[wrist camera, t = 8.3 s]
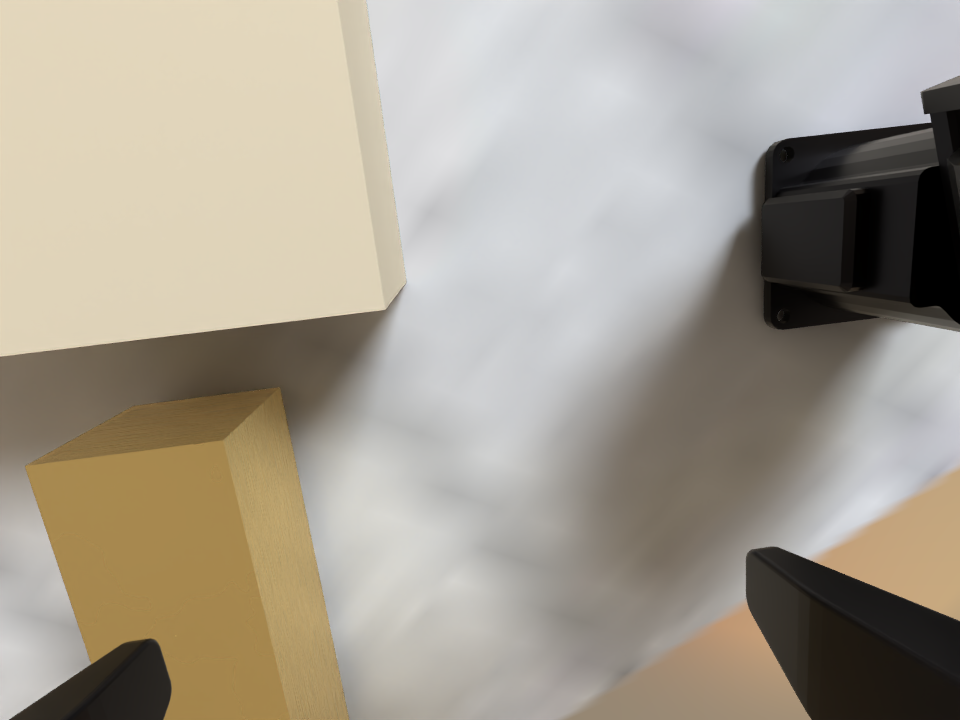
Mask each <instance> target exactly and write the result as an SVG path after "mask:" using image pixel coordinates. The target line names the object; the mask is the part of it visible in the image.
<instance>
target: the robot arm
mask: <svg viewBox="0 0 960 720" xmlns="http://www.w3.org/2000/svg"><path fill="white" fill-rule="evenodd" d="M921 98H922V104H923V109H924V114H930V117H931V122H932V123H924V124H915V125H906V126H897V127H888V128H879V129H870V130H861V131H852V132H843V133H834V134H825V135H816V136H807V137H798V138H789V139H785V140H781V141H778V142H775V143H774V144H772V145H771V146H770V147H769V149H768V151H767V154H766V176H765V203H764V205H763V206H762V262H761V274H762V276H763V277H764V319H765V322H766V323H767V325H769V326H770V327H772V328H776V329H782V330H784V329H792V328H800V327H808V326H816V325H824V324H832V323H840V322H847V321H855V320H863V319H871V318H879V317H883V318H888V319H893V320H899V321H904V322H909V323H915V324H920V325H926V326H931V327H936V328H942V329H947V330H952V331H958V332H960V76H957V77H955V78H952V79H950V80H948V81H945V82H943V83H940V84H938V85H935V86H933V87H931V88H928V89H926V90H924V91H921ZM782 149H784V150H785V151H786V153H787V158H786V160H785V161H784V162H783V161H782V160H781V159H780V152H781V150H782ZM780 310H783V311H784V315H783V318H782V319H781V320H779V321H778V319H777V315H778V313H779V311H780ZM746 598H747V603H748V607H749V609H750V611H751V613H752V616H753V617H754V619H755V621H756V623H757V624H758V626H759V628H760V630H761V632H762V634H763V635H764V637H765V639H766V641H767V643H768V644H769V646H770V648H771V650H772V651H773V653H774V655H775V657H776V659H777V661H778V662H779V664H780V666H781V667H782V670H783V671H784V673H785V675H786V677H787V679H788V680H789V682H790V684H791V686H792V687H793V689H794V691H795V693H796V695H797V696H798V698H799V700H800V702H801V703H802V705H803V707H804V708H805V710H806V712H807V713H808V715H809V716H810V718H811V719H812V720H960V621H958V620H956V619H953V618H951V617H949V616H946V615H944V614H941V613H939V612H936V611H934V610H931V609H929V608H926V607H924V606H921V605H919V604H916V603H914V602H912V601H909V600H907V599H904V598H902V597H899V596H897V595H894V594H892V593H889V592H887V591H884V590H882V589H879V588H877V587H875V586H872V585H870V584H867V583H865V582H862V581H860V580H857V579H855V578H852V577H850V576H847V575H845V574H842V573H840V572H838V571H835V570H832V569H830V568H827V567H825V566H823V565H820V564H818V563H815V562H813V561H810V560H808V559H805V558H803V557H801V556H798V555H796V554H793V553H791V552H788V551H786V550H783V549H781V548H778V547H765V548H758V549H752V550H750V551H749V552H748V553H747V556H746ZM171 693H172V686H171V680H170V677H169V673H168V670H167V667H166V664H165V660H164V657H163V654H162V651H161V648H160V645H159V643H158V642H157V641H156V640H155V639H152V638H148V639H141V640H134V641H128V642H125V643H123V644H121V645H119V646H118V647H116V648H115V649H113V650H112V651H110V652H109V653H107V654H106V655H104V656H103V657H102V658H100V659H99V660H97V661H96V662H94V663H93V664H91V665H90V666H88V667H87V668H85V669H84V670H82V671H81V672H79V673H78V674H76V675H75V676H73V677H72V678H70V679H69V680H67V681H66V682H64V683H63V684H61V685H60V686H58V687H57V688H55V689H54V690H52V691H51V692H50V693H48V694H47V695H45V696H44V697H42V698H41V699H39V700H38V701H36V702H35V703H33V704H32V705H30V706H29V707H27V708H26V709H24V710H23V711H21V712H20V713H18V714H17V715H15V716H14V717H12V718H11V719H9V720H164V717H165V714H166V711H167V708H168V706H169V703H170V699H171Z"/></svg>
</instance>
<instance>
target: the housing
mask: <svg viewBox="0 0 960 720" xmlns="http://www.w3.org/2000/svg"><path fill="white" fill-rule="evenodd" d="M405 283H406V275H405V268H404V261H403V254H402V247H401V240H400V233H399V226H398V219H397V212H396V205H395V198H394V191H393V185H392V178H391V171H390V164H389V157H388V150H387V143H386V136H385V129H384V122H383V115H382V108H381V101H380V94H379V87H378V80H377V73H376V67H375V60H374V53H373V46H372V39H371V32H370V25H369V18H368V11H367V4H366V0H0V357H1V356H9V355H18V354H26V353H34V352H42V351H51V350H59V349H67V348H75V347H83V346H92V345H100V344H108V343H116V342H125V341H133V340H141V339H149V338H158V337H166V336H174V335H182V334H191V333H199V332H207V331H215V330H224V329H232V328H240V327H248V326H256V325H265V324H273V323H281V322H289V321H298V320H306V319H314V318H322V317H331V316H339V315H347V314H355V313H364V312H372V311H380V310H386V308H387V307H388V306H389V304H390V303H391V302H392V300H393V299H394V298H395V296H396V295H397V294H398V293H399V291H400V290H401V289H402V287H403V286H404V285H405Z"/></svg>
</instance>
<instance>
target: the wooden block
mask: <svg viewBox="0 0 960 720" xmlns="http://www.w3.org/2000/svg"><path fill="white" fill-rule="evenodd" d="M25 468H26V471H27V474H28V477H29V480H30V483H31V486H32V489H33V492H34V495H35V498H36V501H37V504H38V507H39V510H40V513H41V516H42V519H43V522H44V525H45V528H46V531H47V534H48V537H49V540H50V543H51V545H52V548H53V551H54V554H55V557H56V560H57V563H58V566H59V569H60V572H61V575H62V578H63V581H64V584H65V587H66V590H67V593H68V596H69V599H70V602H71V605H72V608H73V611H74V614H75V617H76V620H77V623H78V626H79V629H80V632H81V635H82V638H83V641H84V644H85V647H86V650H87V652H88V655H89V658H90V661H91V664H93V663H94V662H96V661H97V660H99V659H100V658H102V657H103V656H104V655H106V654H107V653H109V652H110V651H112V650H113V649H115V648H116V647H118V646H119V645H121V644H123V643H125V642H128V641H134V640H141V639H148V638H152V639H155V640H156V641H157V642H158V643H159V645H160V648H161V651H162V654H163V657H164V660H165V664H166V667H167V670H168V673H169V677H170V680H171V686H172V693H171V699H170V703H169V706H168V708H167V711H166V714H165V717H164V720H349V716H348V712H347V707H346V702H345V697H344V692H343V688H342V683H341V678H340V673H339V668H338V664H337V659H336V654H335V649H334V644H333V640H332V635H331V630H330V625H329V620H328V616H327V611H326V606H325V601H324V596H323V592H322V587H321V582H320V577H319V572H318V568H317V563H316V558H315V553H314V548H313V544H312V539H311V534H310V529H309V524H308V520H307V515H306V510H305V505H304V500H303V496H302V491H301V486H300V481H299V476H298V472H297V467H296V462H295V457H294V453H293V448H292V443H291V438H290V433H289V429H288V424H287V419H286V414H285V409H284V405H283V400H282V395H281V390H280V387H277V388H270V389H262V390H254V391H246V392H238V393H230V394H222V395H214V396H206V397H198V398H190V399H182V400H175V401H167V402H159V403H151V404H143V405H135V406H133V407H131V408H129V409H127V410H125V411H124V412H122V413H120V414H118V415H116V416H114V417H113V418H111V419H109V420H107V421H105V422H104V423H102V424H100V425H98V426H96V427H95V428H93V429H91V430H89V431H87V432H86V433H84V434H82V435H80V436H78V437H77V438H75V439H73V440H71V441H69V442H67V443H66V444H64V445H62V446H60V447H58V448H57V449H55V450H53V451H51V452H49V453H48V454H46V455H44V456H42V457H40V458H39V459H37V460H35V461H33V462H31V463H30V464H28V465H26V466H25Z"/></svg>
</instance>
